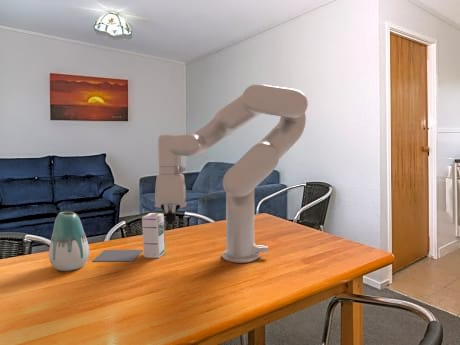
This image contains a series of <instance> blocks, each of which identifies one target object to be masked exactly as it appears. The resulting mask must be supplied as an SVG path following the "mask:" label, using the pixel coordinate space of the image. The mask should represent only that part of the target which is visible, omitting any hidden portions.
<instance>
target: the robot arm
mask: <svg viewBox="0 0 460 345" xmlns="http://www.w3.org/2000/svg"><path fill="white" fill-rule="evenodd" d="M308 102H309V101H308V98H307V96H306V95H305V94H304V93H303V92H302V91H301V90H298V89H294V88H288V87H281V86H280V87H279V86H274V85H273V86H272V85H267V84H260V83H259V84H258V83H257V84H254V83H253V84H251V85H249V86H248V87H246V89H245V90H244V91H243V93H242V94H241V95H239V96H238V97H237V98H236V99H234V100H233V101H231V102H230V103H228V104H227V105H225V106H224V107H222V108H220V109H219V110H218V112H216V114H215V115H214V117H213V118H212V119H211V120H209V122H208V123H207V124H205V125H204V126H202V127H201V128H200V129H199V130H197V131H195V132H194V133H185V134H179V135H178V134H160V135H159V136H158V140H157V141H158V142H157V143H158V144H157V146H158V148H157V149H158V150H157V152H158V153H157V154H158V174H156V179H155V180H156V181H155V187H154V188H155V189H154V191H155V192H154V200H155V203H154V207H156V208H159V209H160V208H161V209H162V210H163V211H164V213H165V221H166V222H167V225H174V224H175V222H176V218H177V217H176V213H177V211H178V210H179V209H182V208H185V207H186V206H187V201H186V199H187V189H186V181H185V175H184V172H186V167H183V166H182V157H195V156H199V155H201V154H203V153H204V152H206V151H207V150H209V149H210V148H212V147H213V146H215V145H216V144H218V143H219V142H221V141H222V140H223V139H225V138H227V137H228V136H230V135H232V134H233V133H235V132H236V131H237V130H239V129H241V128H242V127H244V126H245V125H246V124H248V123H249V122H250V121H252V120H254V119H255V118H257V117H258V116H260V115H261V114H264V115H270V116H276V117H279V118H280V119H279V121H278V123H277V124H276V125H275V126H274V127H273V128H272V129H271V130H270V132H268V133H267V134H266V135H265V136H264V137H263V138H262V139H260V141H259V142H257V143H255V144H254V145H253V146H252V147H251V148H250V149H248V151H247V152H245V154H244V155H243V156H242V157H241V158H240V159H239V160H238V161H236V162H235V163H234V164H233V165H232V166H231V167H229V168H228V170H227V171H226V172H225V174H224V175H223V179H222V187H223V189H224V191H225V208H226V209H225V219H226V220H225V225H226V228H225V231H226V235H225V236H226V249H225V250H223V252H222V254H221V258H223V260H225V261H227V262H231V263H238V264H239V263H241V264H242V263H243V264H244V263H245V264H246V263H251V262H254V261H257V259H259V257H260V253H268V252H269V246H265V245H264V244H260V245H257V244H256V241H255V188H256V187H257V186H259V184H261V183H262V182H263V181H264V180H265V179H266V178H268V177H269V175H270V174H272V172H273V171H274V170H275V169H276V168H277V167H278V164H279V162H280V161H279V160H280V159H281V158H282V157H283V156H284V155H285V154H286V153H287V152H288V151H290V149H291V148H292V147H293V146H294V145H295V144H296V142H298V140H299V139H300V138H301V136H302V135H303V133H304V130H305V127H306V122H307V120H306V111H307V110H308V104H309V103H308ZM182 173H183V174H182ZM170 205H172V207H171V208H170Z"/></svg>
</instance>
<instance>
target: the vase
mask: <svg viewBox="0 0 460 345" xmlns="http://www.w3.org/2000/svg"><path fill="white" fill-rule="evenodd" d="M53 224H54V225H53V231H52V234H51V238H50V243H49V250H48V259H49V263H50V264H51V266H52V267H53V268H54V269H56V270H58V271H60V272H70V271H75V270H78V269H80V268H82V267H83V266H84V265H86V263H87V262H88V260H89V258H90V246H89V242H88V239H87V236H86V233H85V230H84V227H83V224H82V222H81V219H80V216H79V215H78V214H77V213H75V212H74V211H60V212H59V213H58V214H57V216H56V218H55V220H54V223H53Z"/></svg>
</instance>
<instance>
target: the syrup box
mask: <svg viewBox="0 0 460 345" xmlns="http://www.w3.org/2000/svg"><path fill="white" fill-rule="evenodd" d="M164 215H165V214H164V213H162V212H149V213H148V214H146V215H144V216H142V217H141V223H142V224H141V226H142V240H143V242H142V243H143V244H142V245H143V257H144V258H148V259H149V258H150V259H160V258H161V257H162V256H163V255H164V254H166V235H165V234H166V232H165V216H164Z"/></svg>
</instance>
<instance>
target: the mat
mask: <svg viewBox="0 0 460 345" xmlns="http://www.w3.org/2000/svg"><path fill="white" fill-rule="evenodd" d="M142 252H144V249H104V250H103V251H101V253H99V254H98V255H97V256H96V257H95V258H94V259H93V260H92V261H91V263H98V262H99V263H102V262H104V263H107V262H108V263H110V262H113V263H116V262H117V263H118V262H121V263H123V262H125V263H126V262H127V263H128V262H129V263H130V262H134V263H135V261H136V260H137V258H138V257H139V256H140V254H141V253H142Z"/></svg>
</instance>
